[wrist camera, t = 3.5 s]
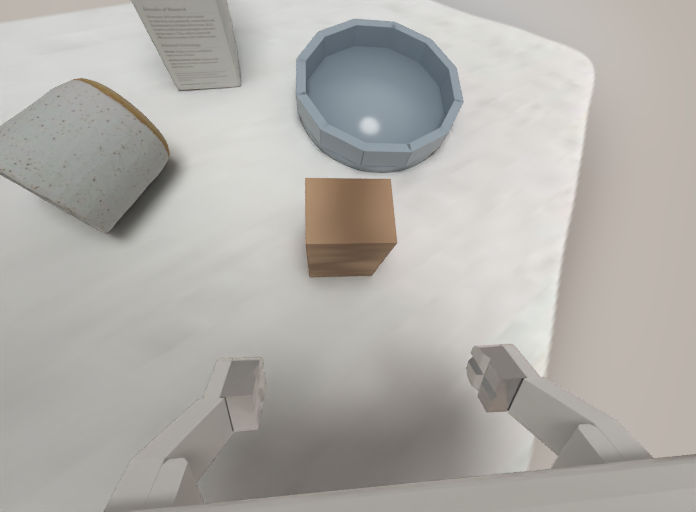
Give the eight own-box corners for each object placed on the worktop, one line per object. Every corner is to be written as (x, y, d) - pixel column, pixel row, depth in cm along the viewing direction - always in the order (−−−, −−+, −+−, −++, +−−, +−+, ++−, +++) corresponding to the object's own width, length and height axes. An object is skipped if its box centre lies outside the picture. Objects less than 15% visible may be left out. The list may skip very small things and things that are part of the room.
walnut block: (309, 277, 23) (305, 243, 15) (309, 230, 24) (305, 177, 17) (371, 275, 24) (397, 242, 16) (368, 229, 25) (390, 179, 17)
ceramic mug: (192, 166, 25) (138, 91, 18) (129, 246, 22) (35, 197, 15) (88, 115, 26) (-6, 22, 18) (15, 187, 23) (-128, 113, 16)
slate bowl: (298, 171, 26) (295, 149, 23) (298, 46, 30) (296, 14, 27) (457, 173, 27) (473, 153, 24) (436, 54, 32) (448, 25, 29)
